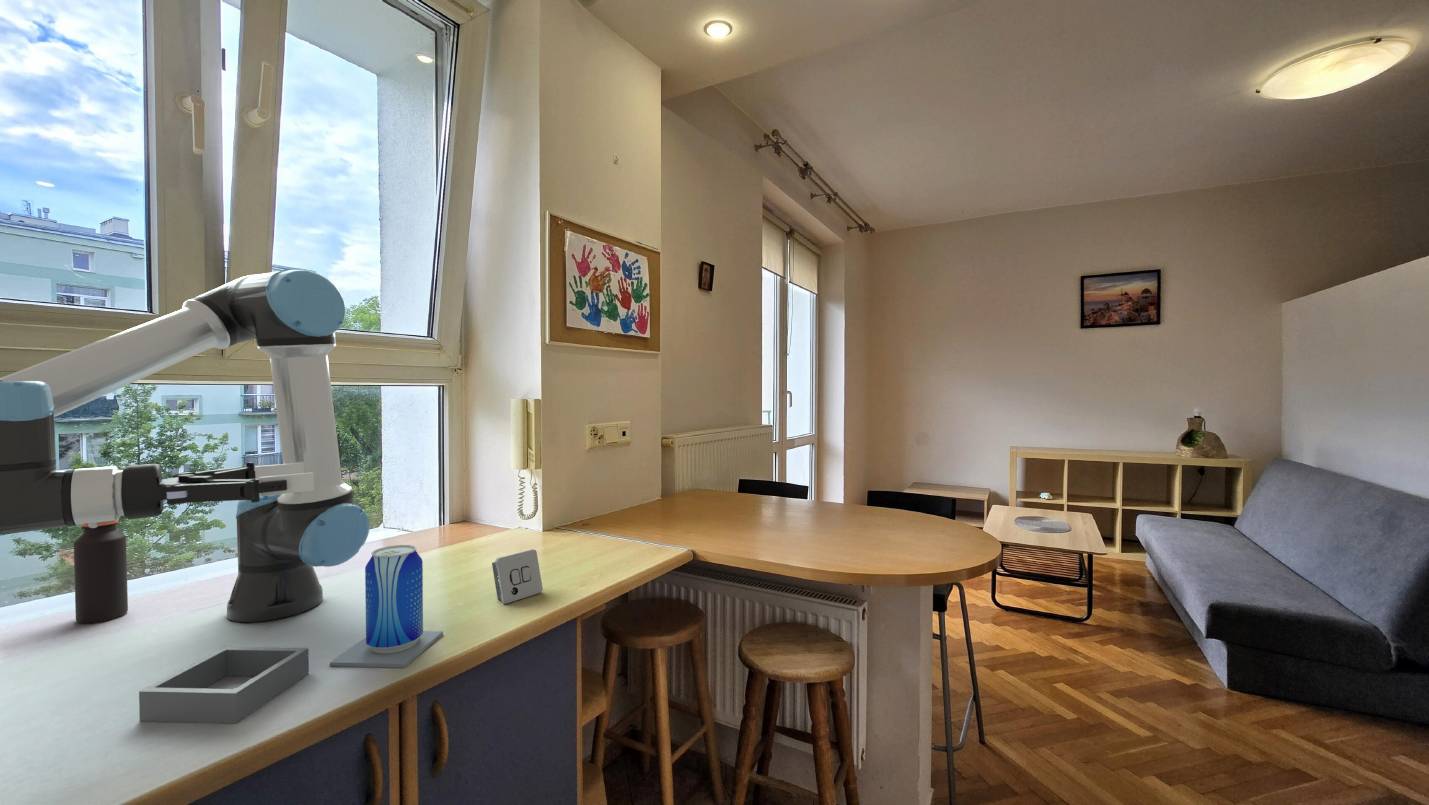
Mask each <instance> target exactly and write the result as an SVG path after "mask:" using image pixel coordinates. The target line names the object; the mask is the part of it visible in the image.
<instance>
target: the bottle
mask: <svg viewBox="0 0 1429 805" xmlns="http://www.w3.org/2000/svg"><path fill="white" fill-rule="evenodd" d="M119 519H120V518H119ZM119 519H118V520H117V521H110V522H99V526H98V527H96V528H90V527H89V526H88V523H85V524H83V525H80V527H81V528H80V529H81V530H83V532H82V533H83V534H81V535H80V536H79V537H78V538H77V539H75V541H74V542H73V566H74V570H73V571H74V573H73V574H74V600H75V602H74V603H75V606H74V607H75V622H77V624H81V625H82V624H83V625H85V624H89V625H90V624H97V623H103V622H107V621H111V620H115V619H118V618H121V617H123V616H125V614H127V613H128V610H129V604H128V603H129V602H128V599H129V596H128V569H127V568H128V565H127V563H128V561H127V557H128V556H127V555H128V554H127V536H126V534H124V533H123V532H121V531H120V530H118V529H117V525H119V521H120V520H119Z"/></svg>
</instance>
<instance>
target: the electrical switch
mask: <svg viewBox="0 0 1429 805" xmlns="http://www.w3.org/2000/svg"><path fill="white" fill-rule="evenodd" d="M491 566H492V572H493V578H494V580H493V581H494V584H495V591H496V592H495V593H496V598H497V600H498V601H501V603H502V604H503V605H506V604H510V603H514V602H517V601H518V600H522V599H525V598H528V597H532V596H534V595H538V594H540V593H542V592H543V590H544V587H543V582H542V575H541V572H540V571H541V570H540V564H539V557H538V552H537V550H536V549H534V548H533V549H532V548H531V549H527V550H524V551H519V552H516V553H511V554H507V555H504V556H499V557H497V558H496V559H495V561H494V562H491Z"/></svg>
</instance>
